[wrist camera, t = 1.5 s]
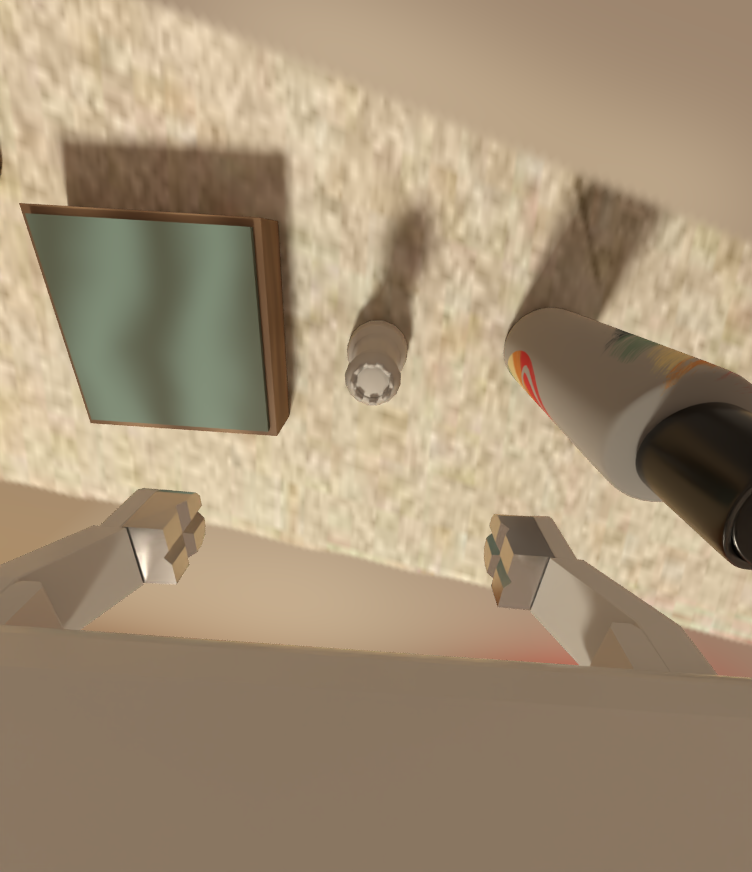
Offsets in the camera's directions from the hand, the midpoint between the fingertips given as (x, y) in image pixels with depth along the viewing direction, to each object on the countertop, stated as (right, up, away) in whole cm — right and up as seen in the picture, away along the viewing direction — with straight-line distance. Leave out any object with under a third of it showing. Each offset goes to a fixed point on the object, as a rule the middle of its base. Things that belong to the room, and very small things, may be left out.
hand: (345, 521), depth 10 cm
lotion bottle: (+13, +9, +17) cm, 23 cm away
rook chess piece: (+1, +9, +18) cm, 20 cm away
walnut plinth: (-13, +11, +17) cm, 24 cm away
